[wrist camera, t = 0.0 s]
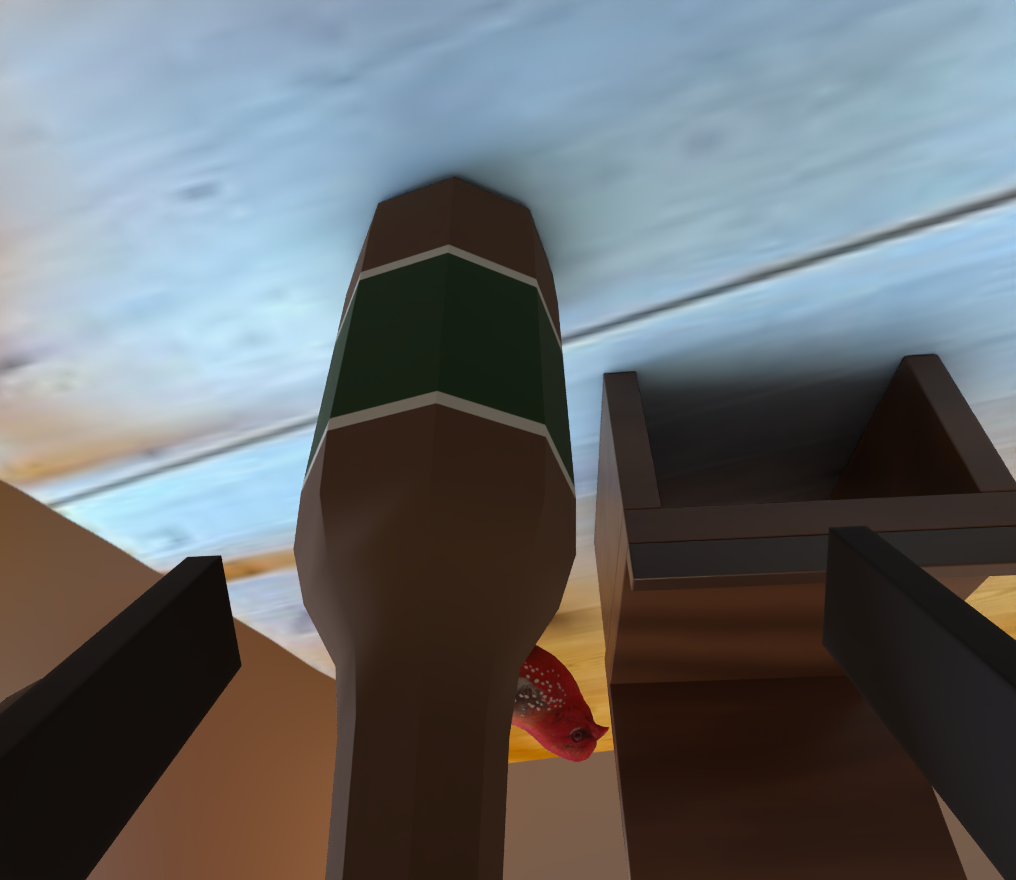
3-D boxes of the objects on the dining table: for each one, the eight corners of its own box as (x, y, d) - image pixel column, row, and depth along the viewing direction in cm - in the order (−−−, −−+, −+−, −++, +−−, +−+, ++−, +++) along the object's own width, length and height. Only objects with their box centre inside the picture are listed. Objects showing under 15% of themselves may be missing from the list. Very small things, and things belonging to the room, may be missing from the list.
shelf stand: (603, 373, 31) (686, 945, 17) (938, 353, 30) (1296, 934, 17) (593, 553, 43) (636, 964, 30) (828, 543, 43) (980, 958, 29)
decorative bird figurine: (594, 631, 53) (607, 767, 46) (367, 621, 51) (348, 762, 44) (602, 615, 50) (618, 756, 44) (366, 604, 49) (346, 750, 42)
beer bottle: (567, 174, 23) (703, 1225, 8) (544, 342, 29) (598, 1124, 14) (340, 163, 23) (19, 1248, 7) (365, 336, 29) (215, 1133, 13)
